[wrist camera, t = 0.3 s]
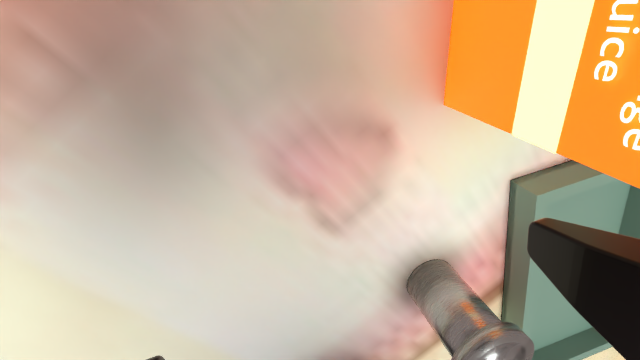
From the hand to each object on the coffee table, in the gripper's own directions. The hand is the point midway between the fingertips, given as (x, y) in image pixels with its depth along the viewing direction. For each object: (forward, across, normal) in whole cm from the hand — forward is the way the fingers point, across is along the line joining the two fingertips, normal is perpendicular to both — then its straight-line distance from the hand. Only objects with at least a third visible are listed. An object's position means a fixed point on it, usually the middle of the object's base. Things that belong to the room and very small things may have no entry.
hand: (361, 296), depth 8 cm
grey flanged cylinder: (+14, -9, +16) cm, 23 cm away
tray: (+14, -22, +20) cm, 33 cm away
